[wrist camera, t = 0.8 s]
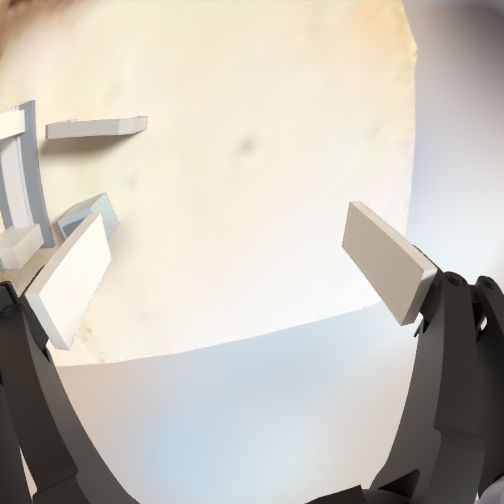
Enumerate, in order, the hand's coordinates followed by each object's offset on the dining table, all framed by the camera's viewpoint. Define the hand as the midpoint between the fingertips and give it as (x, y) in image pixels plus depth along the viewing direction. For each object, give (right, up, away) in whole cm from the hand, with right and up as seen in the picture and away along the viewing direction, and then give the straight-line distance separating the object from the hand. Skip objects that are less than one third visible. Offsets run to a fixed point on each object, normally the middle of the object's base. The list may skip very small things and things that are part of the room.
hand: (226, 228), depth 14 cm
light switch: (-18, +16, +15) cm, 28 cm away
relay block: (-22, +5, +21) cm, 31 cm away
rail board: (-36, +10, +16) cm, 41 cm away
